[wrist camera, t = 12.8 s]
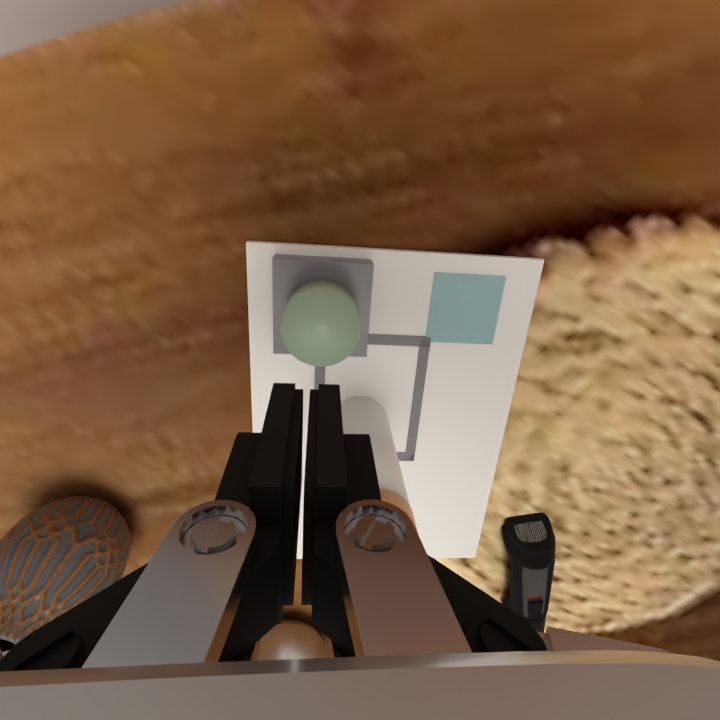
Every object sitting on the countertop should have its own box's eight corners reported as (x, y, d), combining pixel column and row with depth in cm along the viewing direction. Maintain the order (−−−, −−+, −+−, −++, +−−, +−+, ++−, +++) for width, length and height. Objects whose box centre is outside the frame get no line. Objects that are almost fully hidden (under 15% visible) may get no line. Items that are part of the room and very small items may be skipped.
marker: (391, 396, 26) (427, 519, 16) (385, 447, 27) (416, 587, 18) (330, 394, 25) (331, 519, 16) (328, 446, 27) (328, 588, 18)
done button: (360, 282, 20) (363, 292, 18) (355, 351, 22) (358, 368, 20) (284, 278, 20) (280, 288, 18) (284, 349, 21) (280, 365, 20)
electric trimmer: (495, 645, 38) (509, 683, 35) (498, 516, 31) (515, 550, 28) (536, 638, 38) (554, 676, 35) (547, 508, 31) (569, 542, 29)
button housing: (371, 259, 22) (374, 264, 21) (364, 346, 24) (366, 356, 23) (275, 253, 22) (272, 258, 21) (276, 343, 24) (273, 353, 23)
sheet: (539, 257, 24) (545, 260, 23) (472, 551, 32) (475, 558, 32) (248, 240, 22) (245, 242, 22) (258, 552, 31) (256, 560, 30)
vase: (163, 509, 29) (99, 637, 21) (117, 571, 31) (42, 711, 22) (62, 461, 27) (-53, 582, 19) (19, 530, 29) (-102, 668, 20)
